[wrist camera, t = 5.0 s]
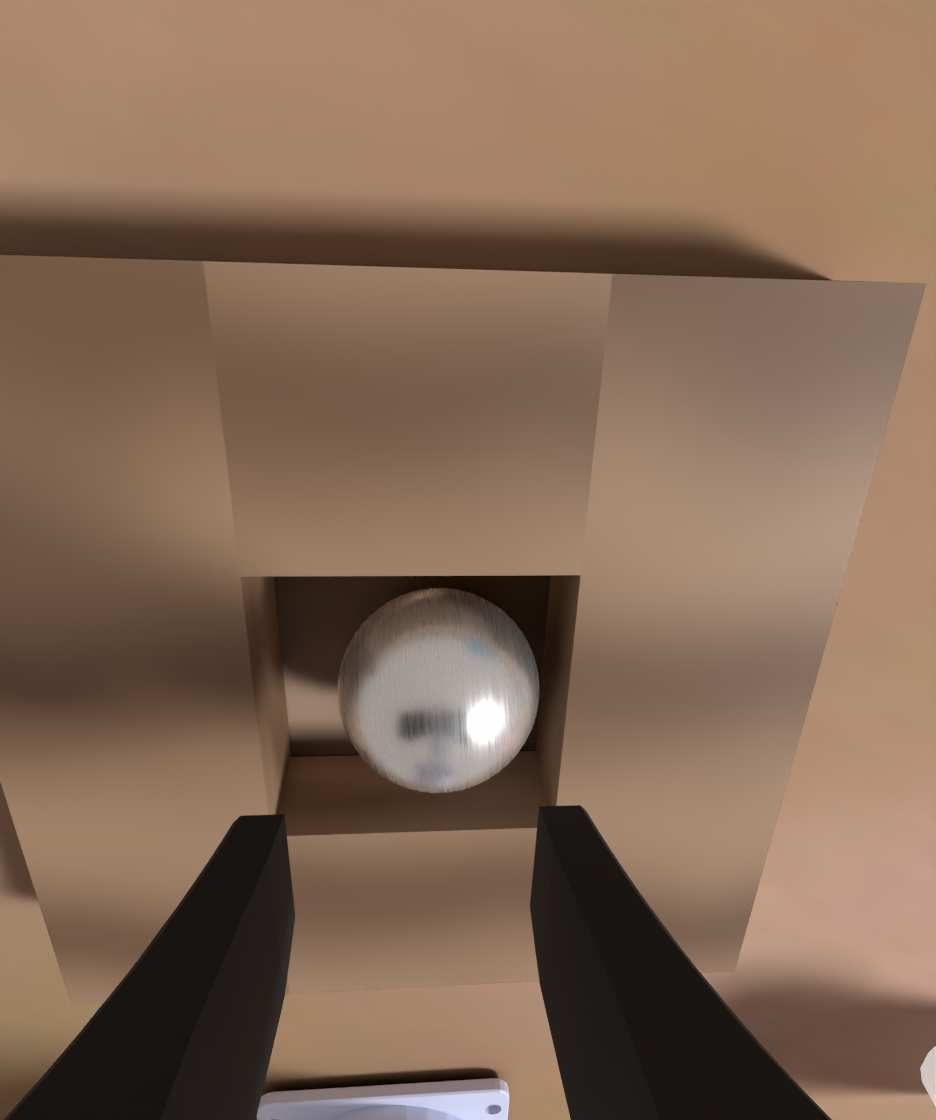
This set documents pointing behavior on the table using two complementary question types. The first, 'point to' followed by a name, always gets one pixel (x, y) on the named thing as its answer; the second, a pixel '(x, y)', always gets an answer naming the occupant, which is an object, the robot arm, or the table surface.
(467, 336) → the wooden square frame
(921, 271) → the table surface
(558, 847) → the robot arm
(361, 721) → the steel ball
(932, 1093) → the beverage cup
